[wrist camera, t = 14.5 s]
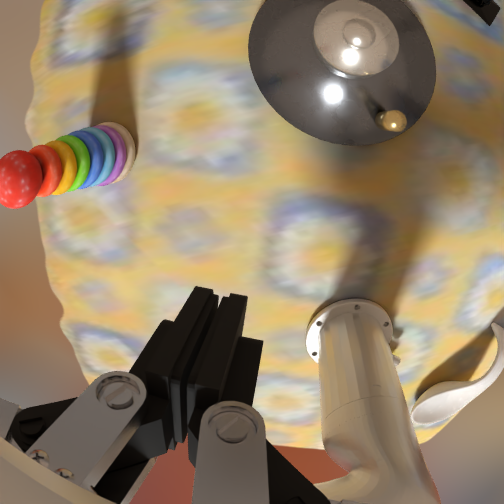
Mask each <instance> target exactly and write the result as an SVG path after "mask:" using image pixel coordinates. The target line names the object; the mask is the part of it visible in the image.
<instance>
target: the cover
mask: <svg viewBox="0 0 504 504" xmlns="http://www.w3.org/2000/svg"><path fill="white" fill-rule="evenodd" d="M312 46H313V50H314V52H315V54H316V56H317V58H318V59H319V61H320V62H321V63H322V64H323V65H324V66H325V67H326V68H327V69H328V70H330V71H331V72H333V73H334V74H336V75H338V76H341V77H344V78H348V79H365V78H369V77H371V76H373V75H375V74H377V73H379V72H381V71H383V70H384V69H386V68H387V67H389V66H390V65H391V64H392V63H393V61H394V60H395V58H396V56H397V54H398V50H399V39H398V34H397V31H396V29H395V27H394V25H393V23H392V22H391V20H390V19H389V18H388V17H387V16H386V15H385V14H384V13H383V12H382V11H381V10H379V9H378V8H376V7H375V6H373V5H371V4H369V3H366V2H363V1H360V0H338V1H335V2H332V3H330V4H329V5H327V6H326V7H324V8H323V9H322V10H321V12H320V13H319V14H318V16H317V18H316V21H315V25H314V29H313V33H312Z"/></svg>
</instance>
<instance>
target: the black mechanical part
mask: <svg viewBox="0 0 504 504" xmlns="http://www.w3.org/2000/svg"><path fill="white" fill-rule="evenodd" d="M463 1H464V2H465V3H466V4H468V5H469V6H470V7H471V8H472V9H473V10H474V11H475V12H476V13H477V14H478V15H479V16H480V17H481V18H482V19H483V20H484V21H485V22H486V23H487V24H488V25H489V26H490V25H491V24H492V22H493V20H494V19H495V17H496V15H497V14H498V12H499V10H500V7H499V6H498V5H497V4H496V3H495V2H494V0H463Z"/></svg>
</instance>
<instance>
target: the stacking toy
mask: <svg viewBox="0 0 504 504" xmlns="http://www.w3.org/2000/svg"><path fill="white" fill-rule="evenodd" d="M134 160H135V144H134V141H133V138H132V136H131V134H130V133H129V131H128V130H127V129H126V128H125V127H123V126H122V125H120V124H118V123H115V122H104V123H100V124H98V125H96V126H93V127H87V128H83V129H81V130H79V131H74V132H72V133H70V134H68V135H65V136H61V137H59V138H58V139H56V140H55V141H51V142H48V143H47V144H45V145H38V146H35V147H34V148H32V149H31V150H30V151H29V152H26V151H22V150H17V151H12V152H10V153H8V154H6V155H5V156H3V157H2V158H1V159H0V203H1V204H2V205H4V206H5V207H8V208H21V207H24V206H26V205H28V204H29V203H30V202H32V201H33V200H34V198H35V197H36V196H39V197H45V196H48V195H50V194H53V195H59V194H63V193H65V192H70V191H74V190H76V189H83V188H87V187H92V186H105V185H108V184H112V183H116V182H118V181H120V180H122V179H123V178H124V177H126V176H127V175H128V173H129V172H130V170H131V169H132V166H133V164H134Z"/></svg>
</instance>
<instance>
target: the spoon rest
mask: <svg viewBox="0 0 504 504" xmlns="http://www.w3.org/2000/svg"><path fill="white" fill-rule="evenodd" d="M491 328H492V330H493V332H494V334H495V336H496V338H497V342H498V351H497V355H496V358H495V360H494V362H493V364H492V366H491V367H490V369H489V370H488V371H487V373H486V374H485V375H483V376H482V377H481V378H479V379H477V380H474V381H447V382H440V383H437V384H435V385H433V386H432V387H430V388H429V389H428V390H427V391H425V392H424V393H423V394H422V395H421V396H420V397H419V398H418V400H417V401H416V403H415V404H414V406H413V409H412V411H411V420H412V421H413V422H415V423H418V424H431V423H436V422H439V421H442V420H444V419H446V418H448V417H450V416H452V415H453V414H455V413H456V412H458V411H459V410H461V409H462V408H463V407H464V406H466V405H467V404H468V403H469V402H470V401H472V400H473V399H474V398H476V397H477V396H478V395H479V394H481V393H482V392H483V391H484V390H485V389H486V388H488V387H489V386H490V385H491V384H492V383H493V382H494V381H495V380H496V378H497V377H498V375H499V374H500V373H501V371H502V369H503V368H504V329H503V328H502V327H501V326H499V325H498V324H496V323H492V324H491Z"/></svg>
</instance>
